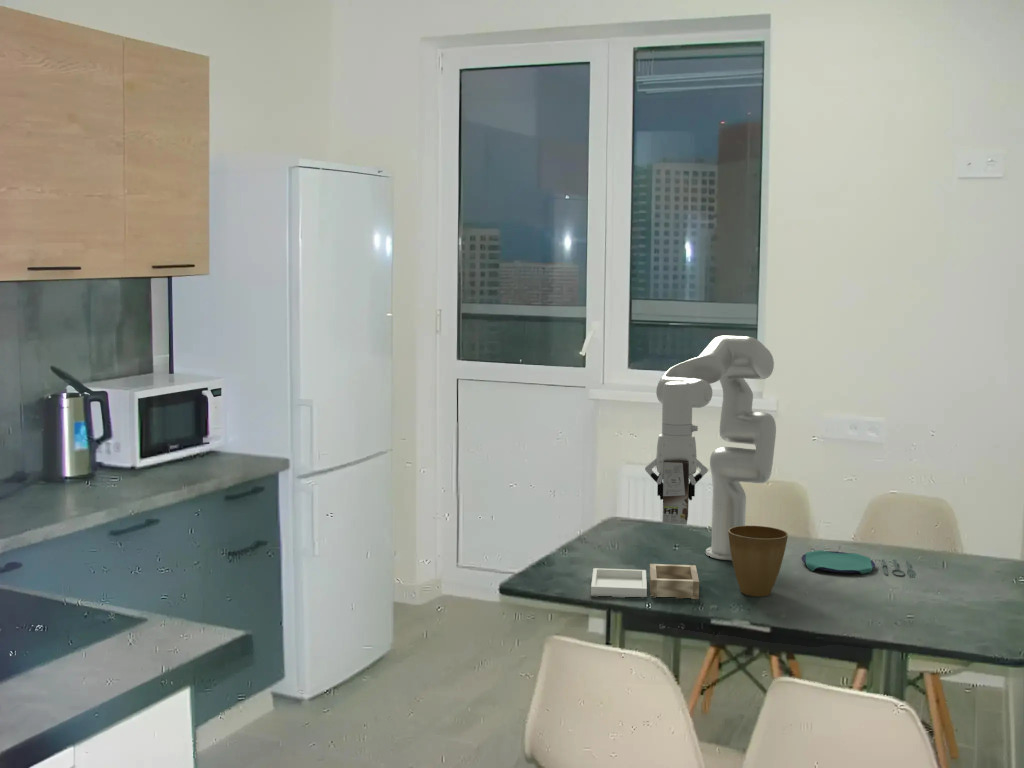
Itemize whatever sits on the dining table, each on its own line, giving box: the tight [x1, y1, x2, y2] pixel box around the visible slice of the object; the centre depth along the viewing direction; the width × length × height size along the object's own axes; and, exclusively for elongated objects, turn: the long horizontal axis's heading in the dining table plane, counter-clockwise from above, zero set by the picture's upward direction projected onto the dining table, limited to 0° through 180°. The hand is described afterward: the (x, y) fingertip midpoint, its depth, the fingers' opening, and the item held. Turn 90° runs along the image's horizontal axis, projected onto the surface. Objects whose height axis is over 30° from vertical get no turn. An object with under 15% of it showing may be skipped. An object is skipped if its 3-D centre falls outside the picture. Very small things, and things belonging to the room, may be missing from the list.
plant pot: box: [728, 525, 789, 598], centre depth 274 cm, size 15×15×16 cm
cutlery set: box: [801, 550, 916, 579], centre depth 298 cm, size 20×30×2 cm, turn 75°
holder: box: [649, 563, 700, 600], centre depth 277 cm, size 12×15×4 cm
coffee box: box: [661, 460, 690, 526], centre depth 274 cm, size 9×6×16 cm
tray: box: [590, 567, 648, 598], centre depth 278 cm, size 14×17×2 cm
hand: (675, 498), depth 275 cm, fingers closed on coffee box, 6 cm apart
